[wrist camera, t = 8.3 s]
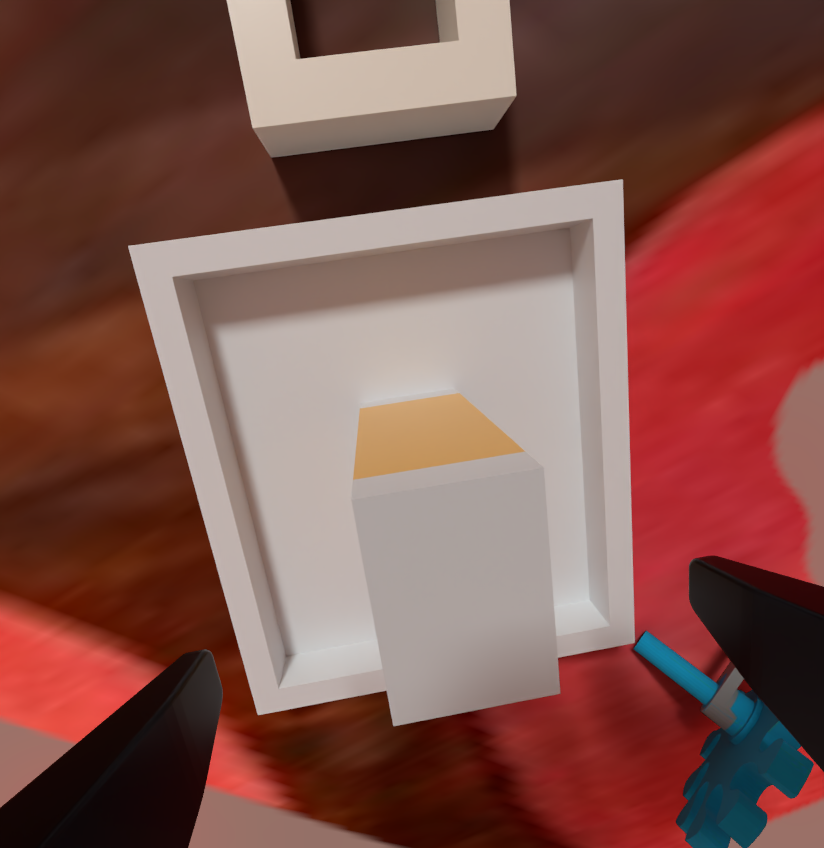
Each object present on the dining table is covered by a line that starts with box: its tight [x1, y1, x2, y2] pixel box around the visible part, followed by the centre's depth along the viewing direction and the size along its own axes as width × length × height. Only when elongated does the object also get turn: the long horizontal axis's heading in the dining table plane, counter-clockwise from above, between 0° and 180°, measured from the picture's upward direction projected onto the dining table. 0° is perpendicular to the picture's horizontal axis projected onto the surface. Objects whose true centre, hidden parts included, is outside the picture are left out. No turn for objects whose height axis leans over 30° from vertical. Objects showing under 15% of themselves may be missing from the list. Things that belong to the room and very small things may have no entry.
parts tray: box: [128, 179, 635, 715], centre depth 17 cm, size 15×17×2 cm
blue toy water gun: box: [634, 631, 814, 848], centre depth 19 cm, size 11×6×10 cm
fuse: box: [351, 388, 560, 726], centre depth 13 cm, size 4×5×9 cm
